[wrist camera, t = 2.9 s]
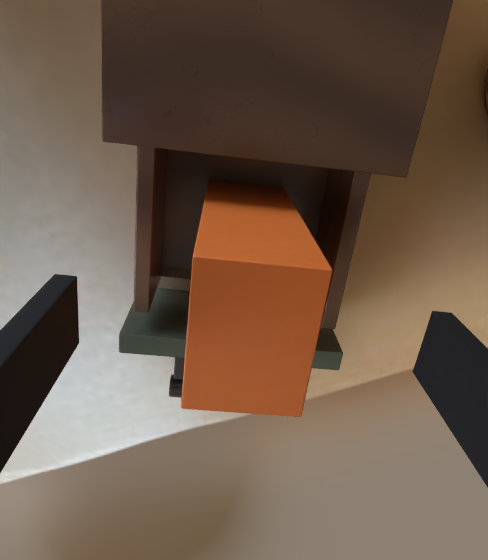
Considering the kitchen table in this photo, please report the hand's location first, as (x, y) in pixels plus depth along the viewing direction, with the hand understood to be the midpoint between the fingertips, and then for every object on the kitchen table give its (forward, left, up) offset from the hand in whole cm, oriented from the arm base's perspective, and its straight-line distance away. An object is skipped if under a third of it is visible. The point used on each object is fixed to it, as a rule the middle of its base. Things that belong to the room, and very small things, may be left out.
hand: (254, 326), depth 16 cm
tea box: (0, 0, -12) cm, 12 cm away
